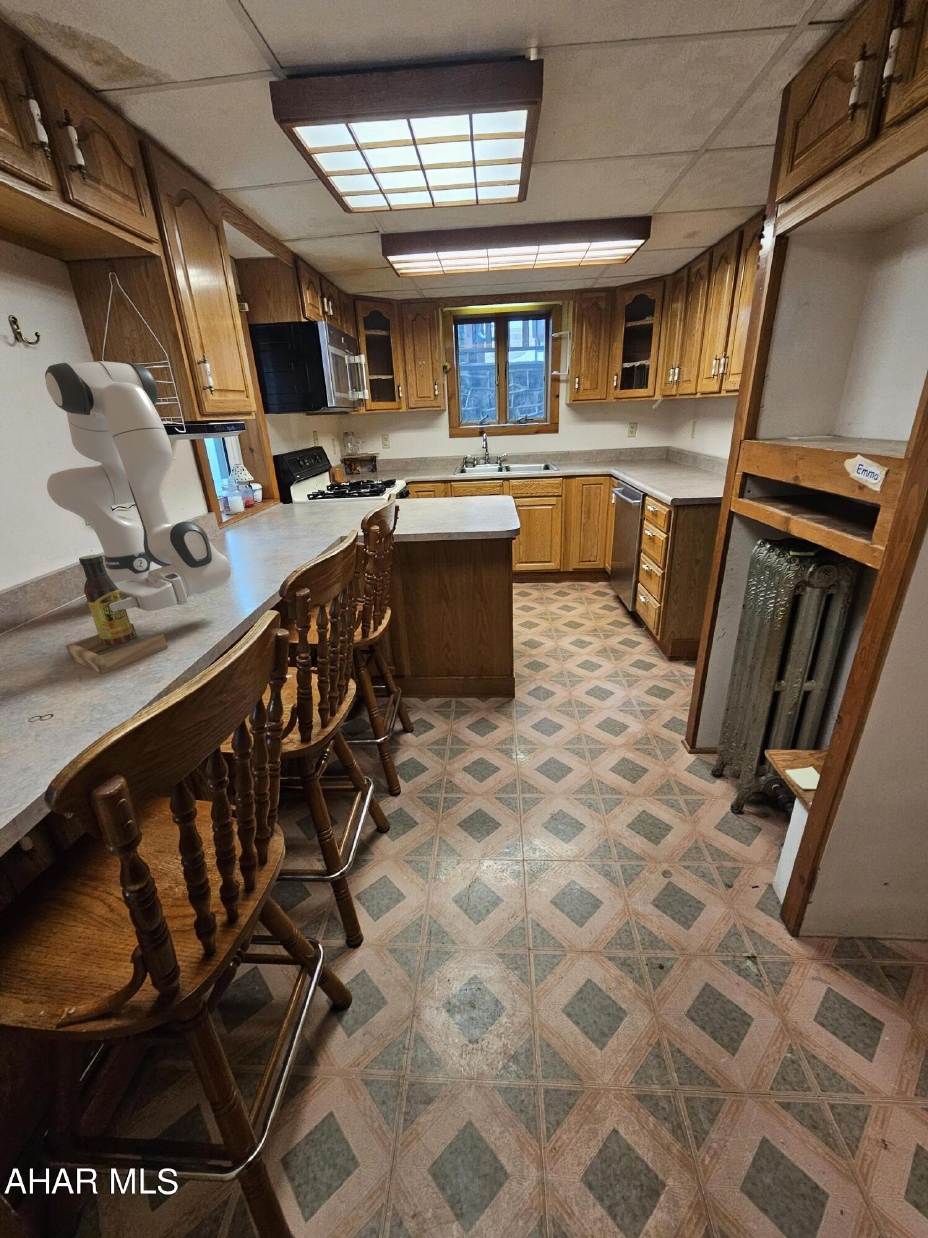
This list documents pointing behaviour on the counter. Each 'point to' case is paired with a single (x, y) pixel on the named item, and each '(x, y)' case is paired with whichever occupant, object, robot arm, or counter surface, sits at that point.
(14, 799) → the counter surface
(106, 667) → the wooden bracket
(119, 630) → the sauce bottle
